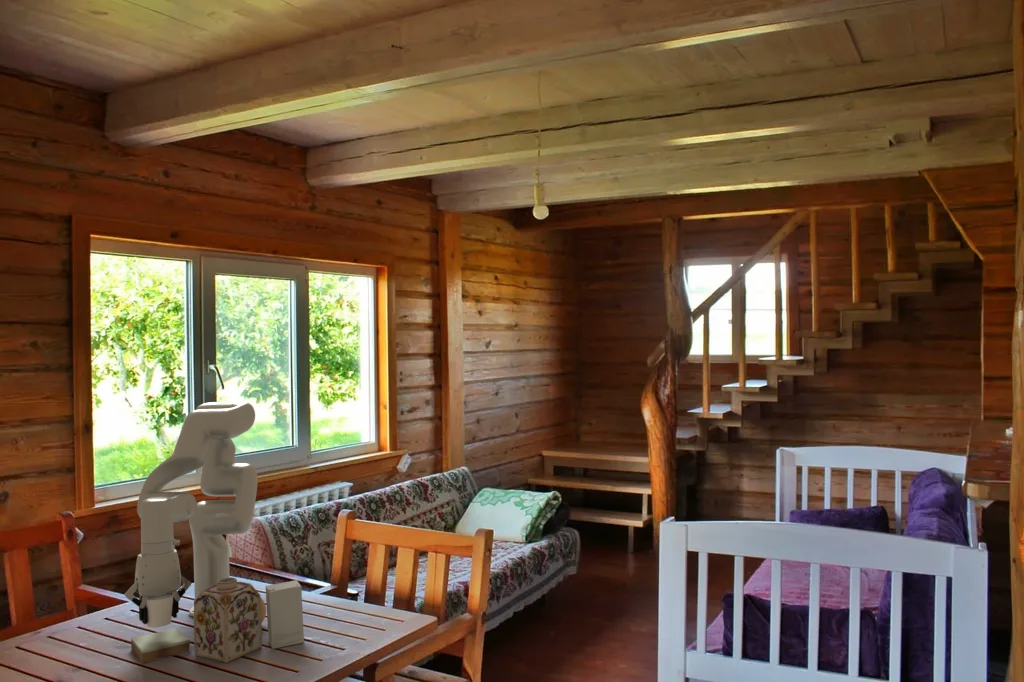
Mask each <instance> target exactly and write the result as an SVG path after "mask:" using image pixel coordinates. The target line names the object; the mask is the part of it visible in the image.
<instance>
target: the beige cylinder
mask: <svg viewBox="0 0 1024 682" xmlns="http://www.w3.org/2000/svg"><path fill="white" fill-rule="evenodd" d="M172 605H173V595H172V593H170V592H168V593H163V594H158V595H153V596H149V597H148V599H147V602H146V608H147V613H148V623H147V624H146V627H148V628H161V627H165V626H168V625H170V624H171V623H172V618H173V617H172Z"/></svg>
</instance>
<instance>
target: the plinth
mask: <svg viewBox="0 0 1024 682" xmlns="http://www.w3.org/2000/svg"><path fill="white" fill-rule="evenodd" d="M130 639H131V640H130V641H131V642H130V645H131V646H130V648H131V649H130V650H131V652H133V654H134V655H135V656H136V657H137V658H138V660H139V661H140V662H141V663H142V664H145V663H150V662H154V661H157V660H162V659H166V658H170V657H174V656H178V655H183V654H186V652H187V653H189V652H190V651H191V650H190V649H191V646H190V645H191V644H190V642H191V641H190V638H188V637H187V636H186V635H185V634H184V633H183V632H182V631H181V630H180V629H179V628H177V627H174V628H171V629H165V630H161V631H159V632H158V631H157V632H153V633H149V634H144V635H141V636H137V637H136V636H135V637H131V638H130Z"/></svg>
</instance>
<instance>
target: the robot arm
mask: <svg viewBox="0 0 1024 682" xmlns="http://www.w3.org/2000/svg"><path fill="white" fill-rule="evenodd" d="M255 421H256V412H255V407H254V406H253V404H251V403H249V402H246V401H212V402H211V401H210V402H205V403H204V402H203V403H202V404H199V405H198V406H197V407H196V408H195V410H192V411H191V412H189V413H188V414H187V415H186V416H185V419H184V422H183V424H182V427H181V429H180V433H179V436H178V439H177V441H176V444H175V446H174V450H173V453H172V454H171V455H170V456H169V457H167V458H166V459H165V460H163V461H162V462H161V463H160V464H158V465H157V466H156V467H155V469H154V470H152V471H151V472H150V474H149V475H148V476H147V477H146V479H145V481H144V483H143V485H142V488H141V490H140V493H139V496H138V500H137V504H136V512H137V514H138V517H139V518H140V548H141V550H140V553H139V554H137V558H136V562H135V563H136V564H135V574H134V583H133V584H132V585H131V586H130V587H129V588H128V590H127V591H126V592H125V593H124V597H125V598H126V599H128V600H129V601H130V602H131V603H132V604H135V605H136V606H137V607H138V617H139V621H140V622H141V623H142V624H143V625H147V623H148V613H147V608H146V602H147V599H148V597H149V596H153V595H158V594H163V593H168V592H170V593H172V595H173V605H172V617H171V618H173V619H177V618H178V614H179V611H180V608H179V607H180V606H179V605H180V603H179V602H180V600H181V598H182V597H183V596H184V595H185V594H186V591H187V590H188V589H189V588H190V587H191V585H192V582H191V581H190V580H189V579H187V578H186V577H185V576H183V575H182V574H181V566H180V560H179V555H178V551H177V549H176V547H177V546H180V544H181V540H180V539H175V533H174V532H175V530H174V528H175V527H174V524H175V523H179V522H185V521H187V520H188V522H189V527H190V532H191V533H190V534H191V537H192V550H193V580H194V582H193V583H194V584H193V585H194V588H193V589H194V601H195V600H196V598H197V597H198V596H199V595H200V593H202V592H203V590H204V589H205V588H206V587H209V586H212V585H216V584H217V580H219V579H223V578H229V577H230V576H231V575H230V549H229V545H228V542H227V541H226V539H225V538H224V536H223V535H242V534H247V532H249V530H250V529H251V527H252V525H253V521H254V516H255V515H254V514H255V506H256V500H257V499H256V498H257V491H258V482H259V481H258V479H259V478H258V473H257V468H255V467H254V466H253V465H252V464H251V463H247V462H235V459H236V445H235V443H234V441H233V439H235V438H237V437H238V436H241V435H242V434H244V433H247V432H248V431H249V430H251V429H252V427H253V426H254V423H255ZM201 468H202V469H201ZM199 469H201V474H200V475H201V477H200V483H199V484H200V486H199V487H200V491H201V492H202V494H203V495H206V496H208V497H235V500H234V499H231V500H229V499H228V500H225V499H220V500H218V499H217V500H216V499H215V500H212V499H211V500H210V499H209V500H201V501H198V502H197V499H196V497H195V496H194V495H193V494H192V493H190V492H188V491H163V489H164V488H165V487H166V486H167V485H169V484H170V483H171V482H174V481H175V480H176V479H178V478H180V477H183V476H185V475H188V474H190V473H193V472H194V471H197V470H199ZM135 593H136V594H138V596H139V598H137V597H136V596H135V595H134V594H135ZM188 614H189V615H190V617H193V618H194V605H192V607H190V608H189V611H188Z"/></svg>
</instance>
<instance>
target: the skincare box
mask: <svg viewBox="0 0 1024 682" xmlns="http://www.w3.org/2000/svg"><path fill="white" fill-rule="evenodd" d="M302 589H303V587H302V585H301V584H300V583H299V581H298V580H296V579H295V580H290V581H286V582H279V583H275V584H268V585H265V602H266V603H265V605H266V617H267V636H268V638H267V639H268V643H269V645H270V647H271V649H272V650H273V649H279V648H285V647H288V646H294V645H298V644H302V643H305V635H304V634H305V633H304V632H305V631H304V617H303V613H304V612H303V595H302V592H303V591H302Z"/></svg>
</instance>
